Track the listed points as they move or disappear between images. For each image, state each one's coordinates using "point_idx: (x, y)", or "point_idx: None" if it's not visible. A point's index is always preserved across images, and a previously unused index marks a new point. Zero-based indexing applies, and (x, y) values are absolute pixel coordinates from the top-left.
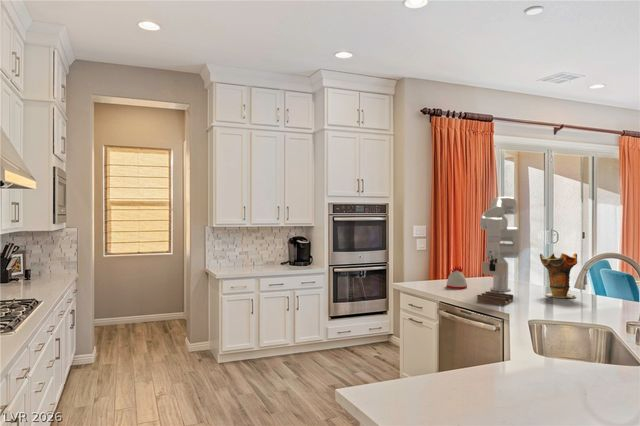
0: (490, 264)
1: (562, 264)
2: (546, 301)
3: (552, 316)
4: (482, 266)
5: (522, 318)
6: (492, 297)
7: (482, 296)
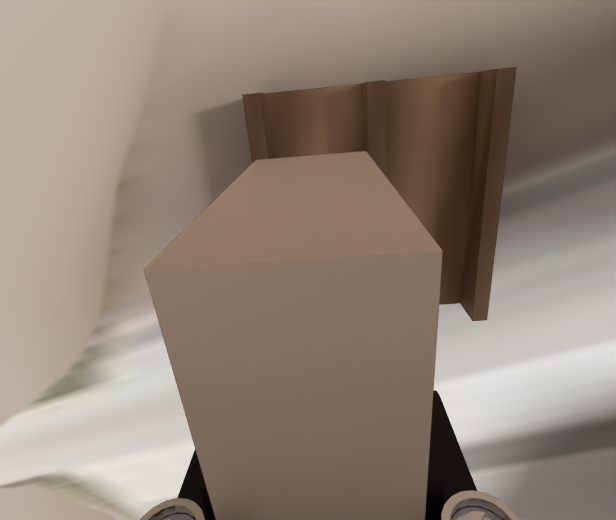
0: (173, 510)
1: None
2: (592, 426)
3: None
4: (217, 207)
5: (62, 451)
6: None
7: (251, 150)
